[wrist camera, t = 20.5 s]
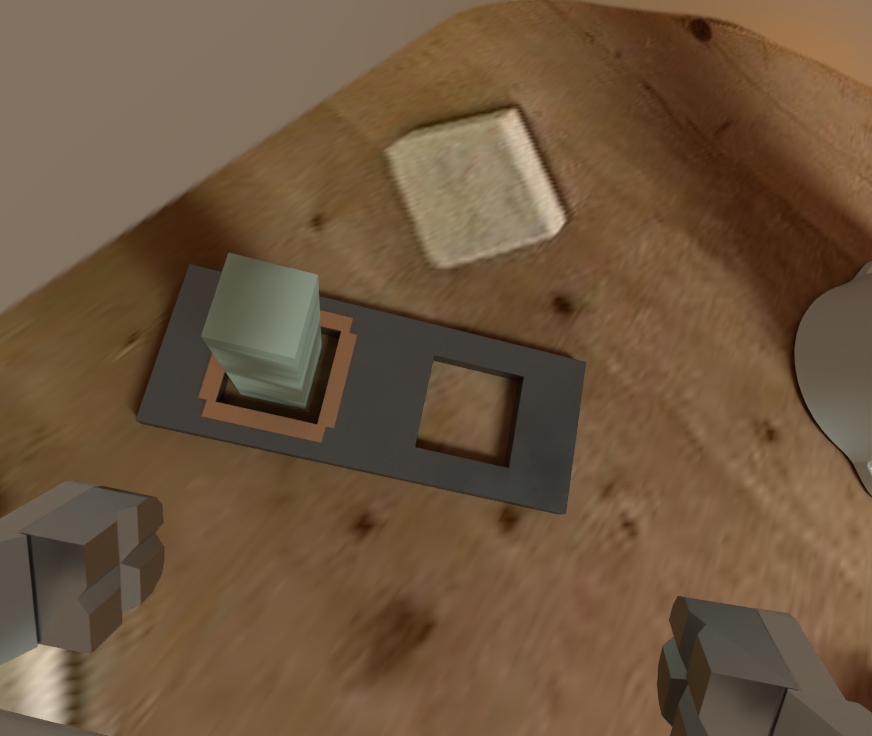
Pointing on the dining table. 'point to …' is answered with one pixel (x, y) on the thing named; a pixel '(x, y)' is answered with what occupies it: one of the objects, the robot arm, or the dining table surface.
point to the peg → (266, 329)
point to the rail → (378, 401)
